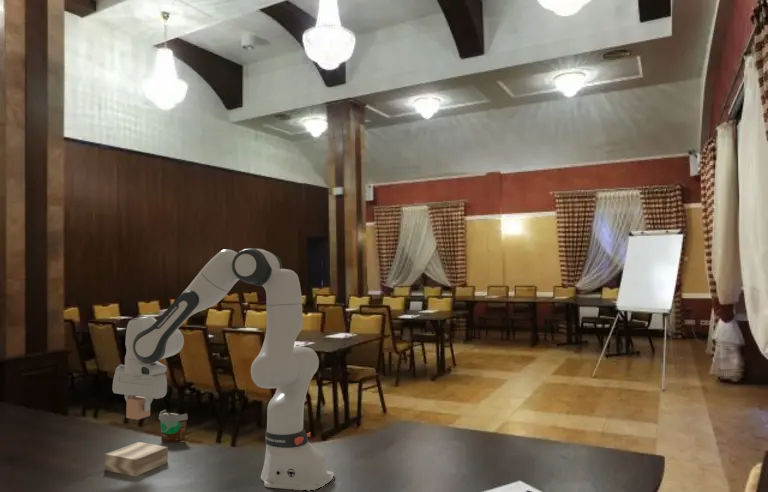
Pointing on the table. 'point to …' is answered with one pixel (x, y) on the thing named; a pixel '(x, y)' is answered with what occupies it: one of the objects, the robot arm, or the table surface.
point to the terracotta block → (136, 408)
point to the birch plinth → (136, 458)
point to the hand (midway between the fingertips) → (138, 409)
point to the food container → (172, 426)
